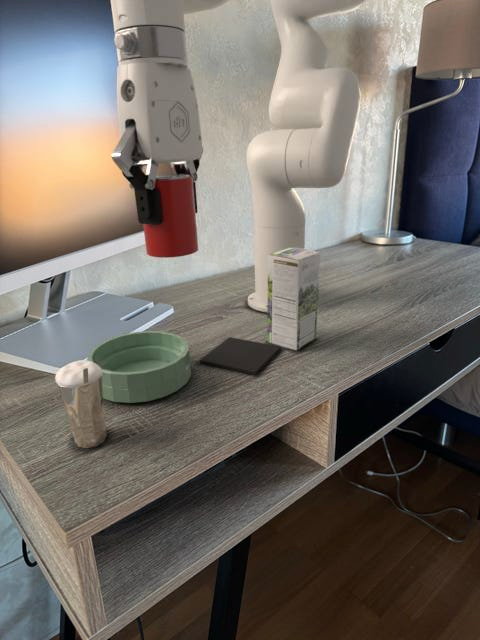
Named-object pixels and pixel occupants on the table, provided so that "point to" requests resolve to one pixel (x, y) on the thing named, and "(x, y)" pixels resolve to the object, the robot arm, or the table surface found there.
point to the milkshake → (83, 401)
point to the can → (173, 218)
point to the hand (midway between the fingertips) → (169, 217)
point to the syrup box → (292, 297)
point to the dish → (142, 365)
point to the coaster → (241, 355)
